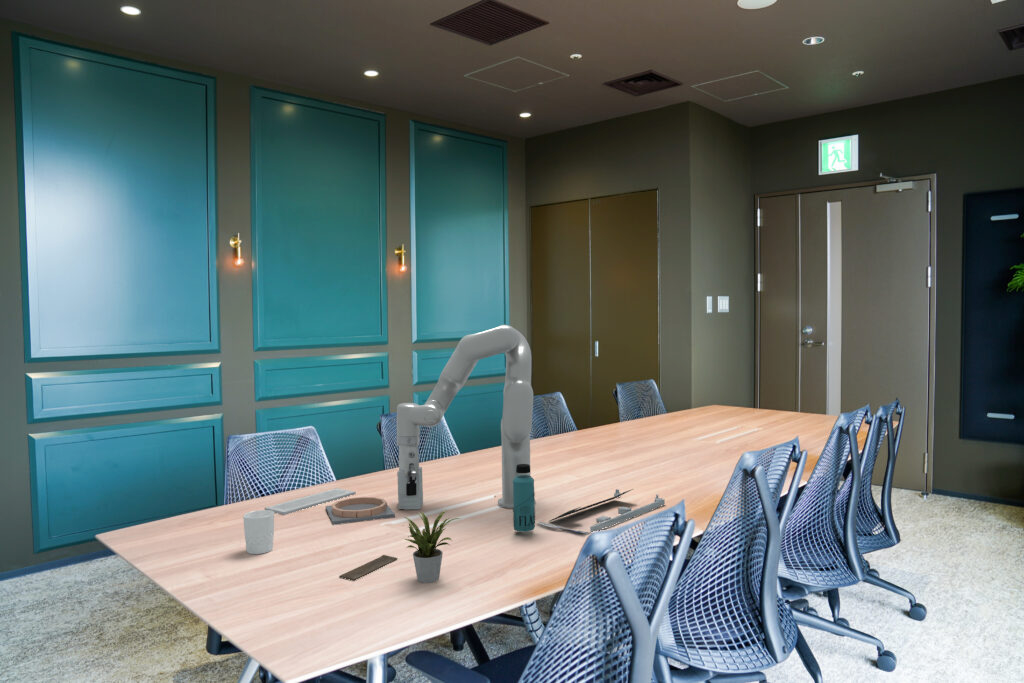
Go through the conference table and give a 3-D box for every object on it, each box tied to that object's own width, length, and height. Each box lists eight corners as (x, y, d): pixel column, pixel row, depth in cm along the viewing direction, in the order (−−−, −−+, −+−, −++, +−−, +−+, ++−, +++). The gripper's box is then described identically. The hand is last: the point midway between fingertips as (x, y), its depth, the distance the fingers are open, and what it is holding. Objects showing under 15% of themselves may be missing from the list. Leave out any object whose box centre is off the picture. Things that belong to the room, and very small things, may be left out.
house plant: (464, 566, 171) (463, 501, 170) (462, 588, 157) (461, 517, 156) (407, 568, 170) (405, 503, 170) (400, 590, 156) (398, 519, 156)
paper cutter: (664, 506, 224) (664, 489, 223) (580, 539, 191) (580, 520, 191) (618, 497, 236) (618, 481, 236) (532, 527, 204) (532, 508, 203)
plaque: (283, 512, 219) (264, 507, 225) (284, 516, 219) (264, 512, 225) (355, 491, 244) (336, 488, 250) (355, 495, 244) (336, 492, 250)
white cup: (265, 543, 191) (264, 508, 191) (280, 549, 186) (279, 513, 186) (238, 551, 185) (237, 514, 185) (254, 557, 180) (253, 519, 180)
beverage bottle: (516, 538, 192) (515, 467, 192) (510, 531, 199) (509, 463, 198) (538, 535, 194) (537, 466, 193) (531, 529, 200) (530, 461, 200)
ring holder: (395, 517, 215) (394, 507, 215) (333, 524, 208) (333, 514, 208) (383, 502, 233) (382, 493, 233) (325, 509, 226) (325, 500, 225)
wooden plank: (354, 577, 162) (338, 573, 165) (354, 583, 162) (338, 578, 165) (398, 557, 177) (383, 553, 179) (397, 562, 177) (382, 558, 179)
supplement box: (423, 503, 230) (423, 466, 230) (420, 509, 223) (419, 471, 222) (402, 503, 230) (401, 466, 230) (397, 510, 223) (396, 471, 223)
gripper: (425, 444, 219) (425, 497, 220) (413, 435, 235) (412, 485, 236) (402, 445, 216) (402, 499, 217) (391, 436, 233) (391, 486, 233)
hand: (407, 491), depth 226 cm, fingers closed on supplement box, 9 cm apart
